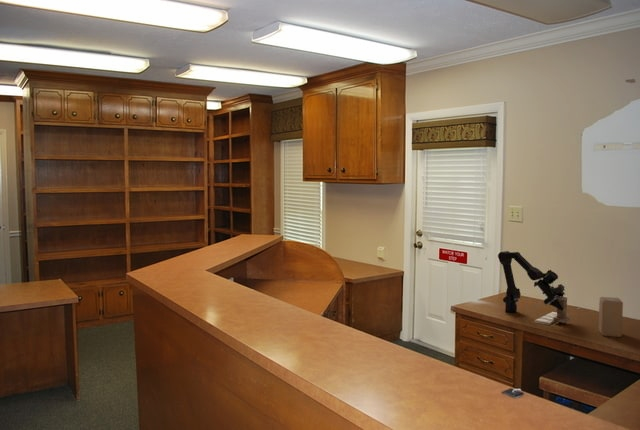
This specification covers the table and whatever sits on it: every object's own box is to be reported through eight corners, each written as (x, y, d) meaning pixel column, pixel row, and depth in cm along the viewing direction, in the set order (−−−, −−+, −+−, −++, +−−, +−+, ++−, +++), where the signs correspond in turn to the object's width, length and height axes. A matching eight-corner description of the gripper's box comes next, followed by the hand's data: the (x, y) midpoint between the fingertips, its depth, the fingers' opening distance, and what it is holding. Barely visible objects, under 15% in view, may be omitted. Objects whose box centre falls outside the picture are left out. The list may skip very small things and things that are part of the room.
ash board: (548, 325, 307) (548, 322, 307) (534, 322, 313) (534, 320, 313) (565, 316, 325) (565, 314, 325) (552, 313, 331) (552, 311, 331)
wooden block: (618, 332, 292) (619, 297, 290) (622, 337, 282) (623, 301, 281) (598, 330, 295) (599, 296, 293) (601, 336, 286) (602, 300, 284)
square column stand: (553, 320, 310) (553, 297, 308) (557, 318, 314) (558, 295, 313) (565, 323, 305) (566, 299, 303) (569, 320, 309) (570, 297, 308)
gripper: (549, 282, 304) (568, 304, 297) (562, 278, 317) (580, 298, 310) (535, 293, 310) (554, 315, 303) (548, 288, 323) (566, 309, 316)
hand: (564, 309), depth 308 cm, fingers closed on square column stand, 4 cm apart
